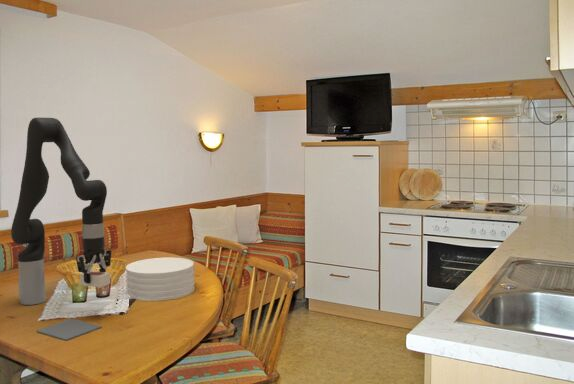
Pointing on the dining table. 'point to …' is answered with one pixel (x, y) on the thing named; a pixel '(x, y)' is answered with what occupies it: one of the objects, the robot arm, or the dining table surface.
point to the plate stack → (160, 278)
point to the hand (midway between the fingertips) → (95, 280)
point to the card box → (96, 279)
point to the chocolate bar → (122, 312)
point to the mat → (68, 329)
